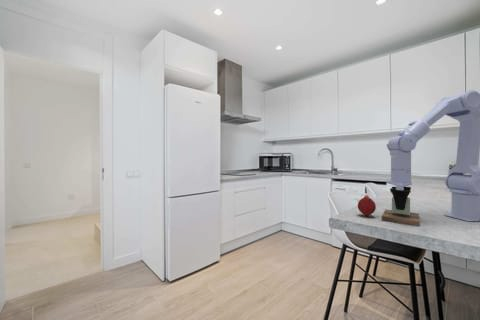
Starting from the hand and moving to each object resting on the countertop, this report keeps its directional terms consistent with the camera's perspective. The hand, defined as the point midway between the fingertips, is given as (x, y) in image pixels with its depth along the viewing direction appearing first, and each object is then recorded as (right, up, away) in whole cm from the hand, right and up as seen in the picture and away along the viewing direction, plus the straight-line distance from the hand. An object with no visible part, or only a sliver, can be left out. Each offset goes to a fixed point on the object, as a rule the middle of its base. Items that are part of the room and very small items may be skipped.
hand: (400, 208), depth 76 cm
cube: (0, -2, 0) cm, 2 cm away
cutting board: (0, -4, 0) cm, 4 cm away
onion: (-10, -4, +4) cm, 11 cm away
